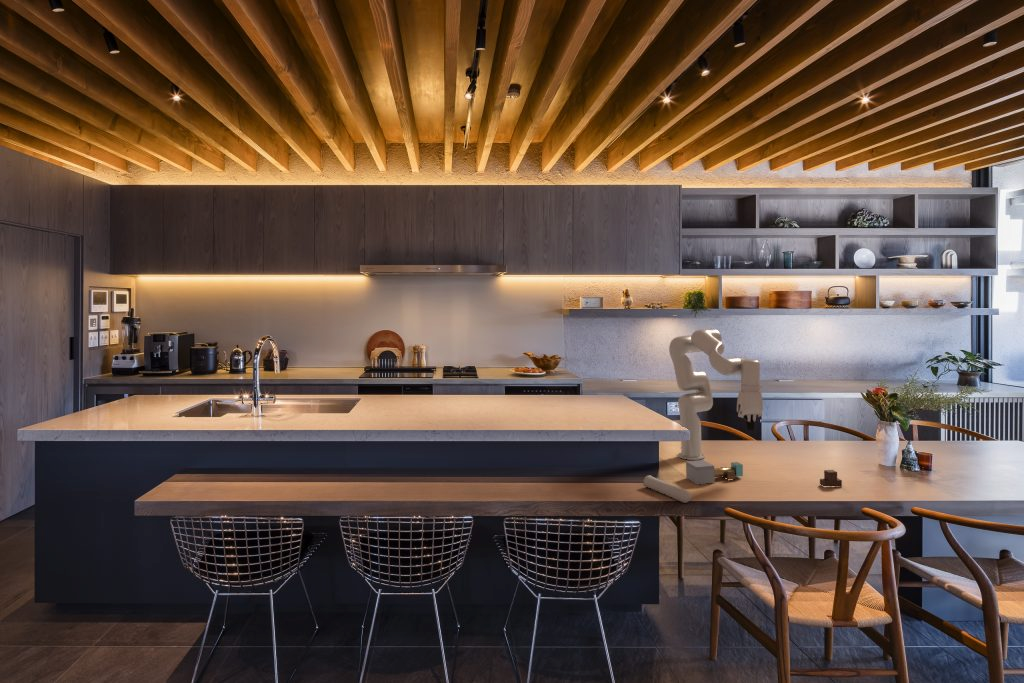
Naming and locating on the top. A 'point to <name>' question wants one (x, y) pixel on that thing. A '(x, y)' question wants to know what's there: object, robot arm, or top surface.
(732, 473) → the guide block
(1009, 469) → the top surface
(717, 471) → the bronze piece
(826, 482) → the wooden blocks
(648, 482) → the tube
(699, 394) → the robot arm
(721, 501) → the top surface
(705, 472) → the socket block
